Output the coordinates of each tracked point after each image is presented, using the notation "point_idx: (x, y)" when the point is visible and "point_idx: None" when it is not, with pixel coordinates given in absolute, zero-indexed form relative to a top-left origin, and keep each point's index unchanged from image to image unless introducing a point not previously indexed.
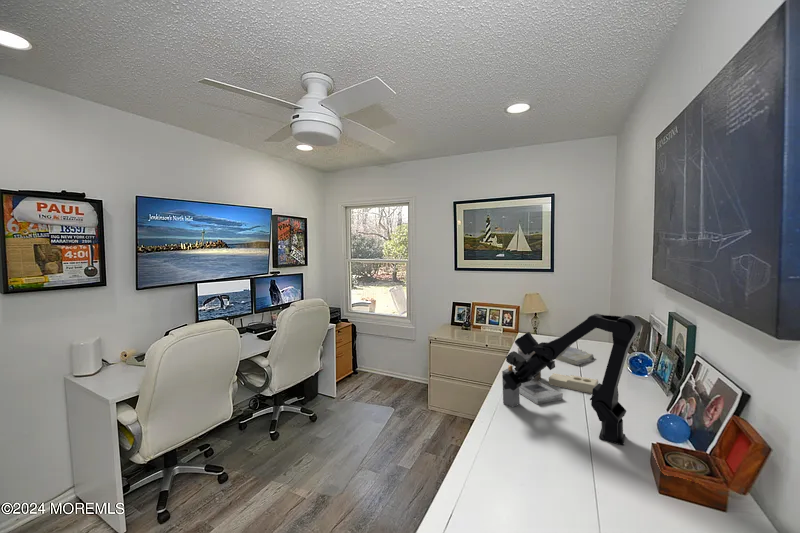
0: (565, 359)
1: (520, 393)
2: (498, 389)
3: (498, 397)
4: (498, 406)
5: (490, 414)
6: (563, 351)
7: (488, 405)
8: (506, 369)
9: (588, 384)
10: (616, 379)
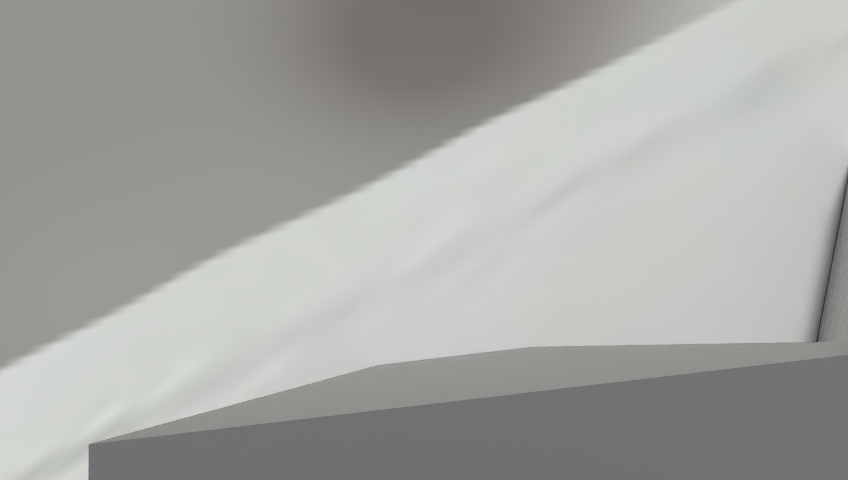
0: None
1: (823, 336)
2: (679, 55)
3: (484, 206)
4: (267, 373)
5: (9, 448)
6: None
7: (199, 270)
8: (624, 435)
9: None
10: None
